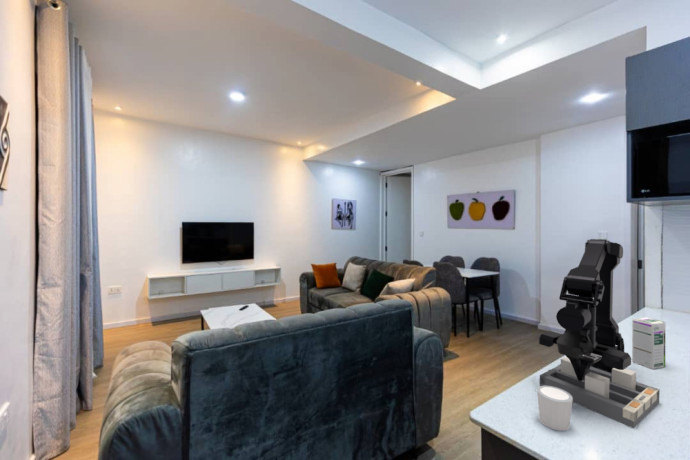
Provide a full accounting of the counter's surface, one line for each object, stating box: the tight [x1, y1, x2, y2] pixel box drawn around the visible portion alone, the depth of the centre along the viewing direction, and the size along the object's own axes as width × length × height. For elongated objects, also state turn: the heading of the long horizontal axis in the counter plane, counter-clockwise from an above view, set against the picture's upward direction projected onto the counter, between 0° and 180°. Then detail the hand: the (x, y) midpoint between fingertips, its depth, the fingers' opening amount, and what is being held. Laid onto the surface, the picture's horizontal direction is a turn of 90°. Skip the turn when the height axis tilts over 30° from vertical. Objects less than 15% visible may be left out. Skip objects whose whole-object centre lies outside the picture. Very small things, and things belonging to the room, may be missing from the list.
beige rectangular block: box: [560, 356, 577, 378], centre depth 88 cm, size 3×4×5 cm
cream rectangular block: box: [585, 372, 610, 398], centre depth 78 cm, size 3×4×5 cm
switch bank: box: [539, 363, 661, 429], centre depth 83 cm, size 18×20×4 cm
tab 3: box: [612, 368, 637, 391], centre depth 82 cm, size 3×4×5 cm
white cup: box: [536, 385, 573, 432], centre depth 71 cm, size 7×7×7 cm
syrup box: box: [631, 316, 666, 370], centre depth 100 cm, size 6×6×14 cm
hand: (580, 380), depth 82 cm, fingers closed
